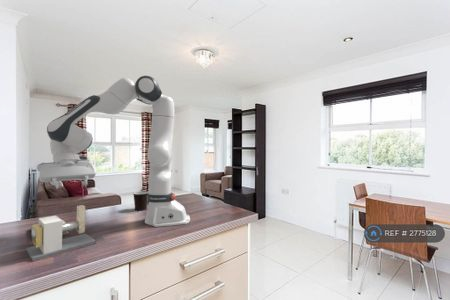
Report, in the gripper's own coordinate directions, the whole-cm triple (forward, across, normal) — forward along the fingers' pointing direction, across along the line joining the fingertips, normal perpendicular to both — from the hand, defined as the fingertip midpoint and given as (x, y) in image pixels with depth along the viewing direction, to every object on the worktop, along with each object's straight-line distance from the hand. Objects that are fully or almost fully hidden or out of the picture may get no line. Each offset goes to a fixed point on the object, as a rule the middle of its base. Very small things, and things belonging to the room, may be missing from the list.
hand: (72, 186), depth 93 cm
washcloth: (+7, -5, +23) cm, 24 cm away
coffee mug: (+4, +38, +25) cm, 46 cm away
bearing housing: (+22, -6, +7) cm, 24 cm away
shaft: (+19, -7, +4) cm, 21 cm away
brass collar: (+20, -13, +4) cm, 24 cm away
